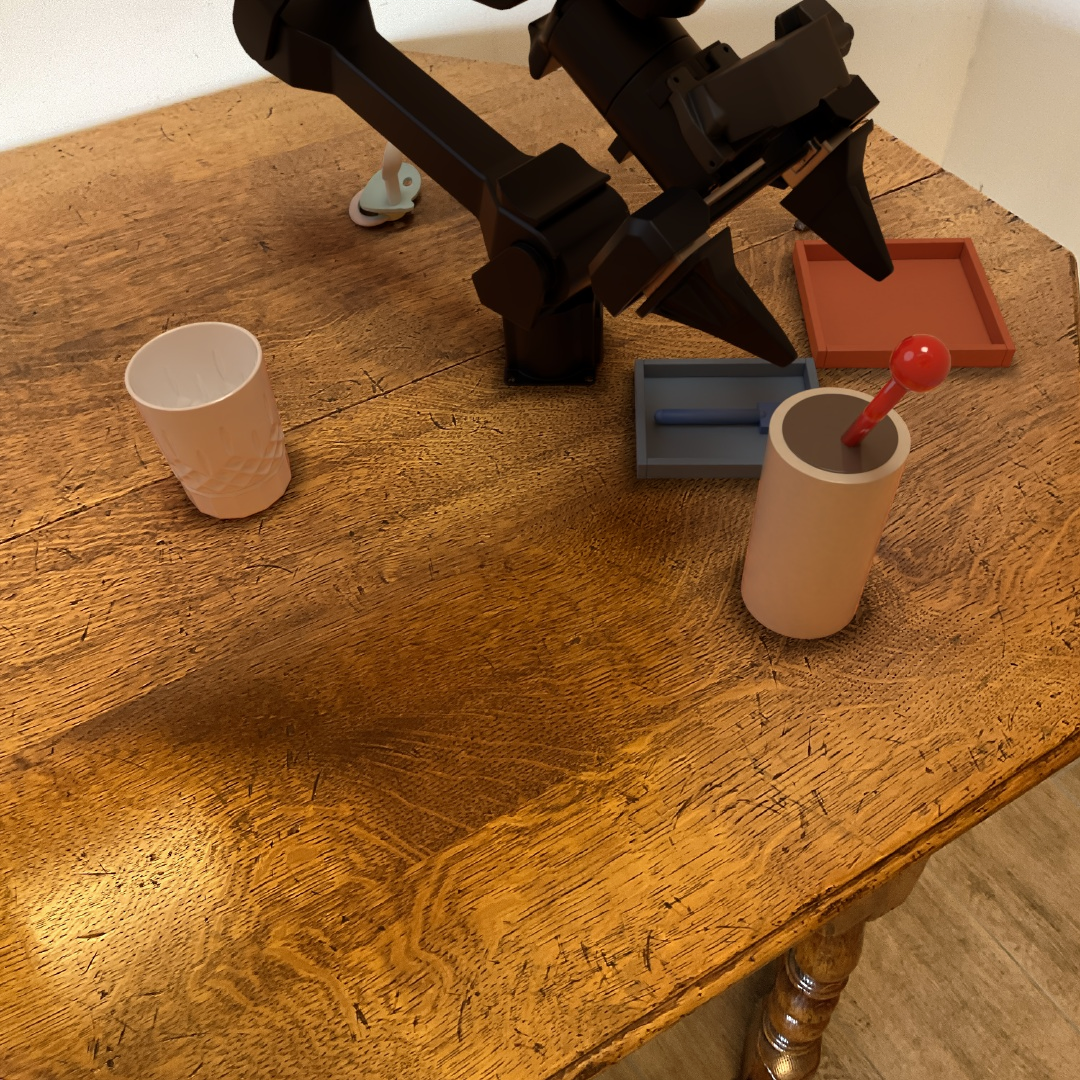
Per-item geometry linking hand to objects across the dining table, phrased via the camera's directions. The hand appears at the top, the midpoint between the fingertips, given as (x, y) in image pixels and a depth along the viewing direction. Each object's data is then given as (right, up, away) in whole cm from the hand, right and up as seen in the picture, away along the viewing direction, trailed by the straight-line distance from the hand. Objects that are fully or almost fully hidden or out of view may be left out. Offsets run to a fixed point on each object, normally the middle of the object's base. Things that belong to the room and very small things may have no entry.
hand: (841, 318), depth 51 cm
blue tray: (-3, -4, +15) cm, 16 cm away
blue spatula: (-3, -4, +15) cm, 16 cm away
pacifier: (-29, +17, +34) cm, 48 cm away
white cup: (-35, -8, +14) cm, 39 cm away
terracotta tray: (+10, +5, +22) cm, 25 cm away
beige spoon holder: (-1, -15, +6) cm, 16 cm away
